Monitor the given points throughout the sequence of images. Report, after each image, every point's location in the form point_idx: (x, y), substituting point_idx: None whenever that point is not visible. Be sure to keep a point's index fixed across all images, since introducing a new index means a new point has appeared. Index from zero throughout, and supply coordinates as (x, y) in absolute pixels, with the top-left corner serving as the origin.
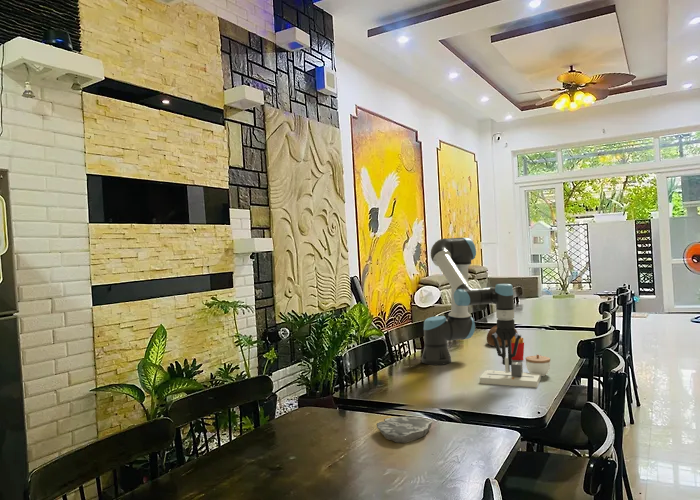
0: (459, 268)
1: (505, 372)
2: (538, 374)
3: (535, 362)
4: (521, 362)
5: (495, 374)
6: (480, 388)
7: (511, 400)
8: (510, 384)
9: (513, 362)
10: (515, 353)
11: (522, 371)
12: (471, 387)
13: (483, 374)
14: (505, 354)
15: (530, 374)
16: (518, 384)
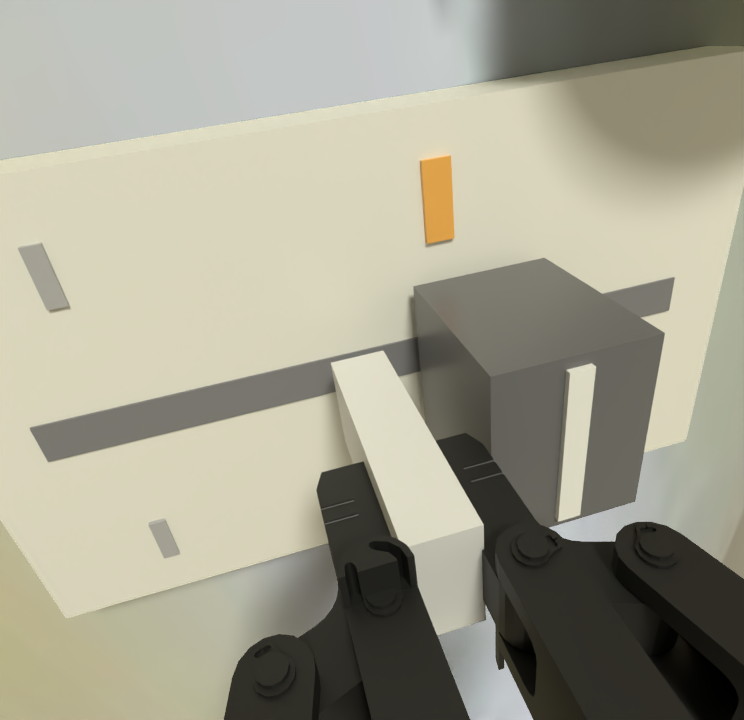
0: None
1: (347, 443)
2: (738, 124)
3: None
4: (652, 336)
5: (174, 417)
6: (196, 662)
7: (495, 708)
8: None
9: (508, 405)
10: (711, 672)
11: (563, 278)
12: (103, 684)
13: (6, 491)
14: (427, 633)
15: (634, 176)
16: None
